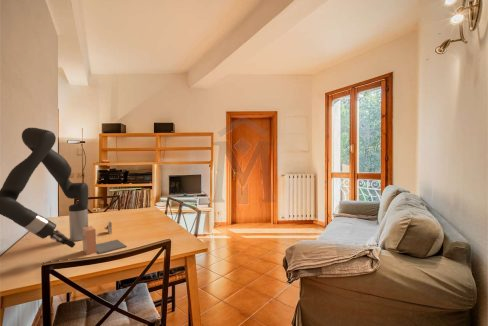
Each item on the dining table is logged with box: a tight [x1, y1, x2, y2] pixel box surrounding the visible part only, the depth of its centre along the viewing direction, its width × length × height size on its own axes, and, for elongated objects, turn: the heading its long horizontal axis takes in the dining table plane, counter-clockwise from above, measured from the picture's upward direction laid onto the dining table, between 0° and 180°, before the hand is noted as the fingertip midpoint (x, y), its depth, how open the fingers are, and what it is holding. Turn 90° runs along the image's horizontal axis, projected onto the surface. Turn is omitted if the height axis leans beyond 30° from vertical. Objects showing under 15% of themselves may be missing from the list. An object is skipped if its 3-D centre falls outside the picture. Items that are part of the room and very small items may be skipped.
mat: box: [96, 239, 127, 255], centre depth 132 cm, size 15×13×1 cm
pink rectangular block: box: [82, 225, 97, 256], centre depth 125 cm, size 8×4×12 cm, turn 45°
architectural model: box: [103, 220, 113, 235], centre depth 156 cm, size 3×7×7 cm, turn 37°
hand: (73, 245), depth 121 cm, fingers closed
